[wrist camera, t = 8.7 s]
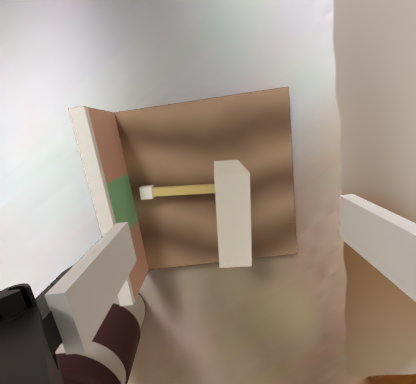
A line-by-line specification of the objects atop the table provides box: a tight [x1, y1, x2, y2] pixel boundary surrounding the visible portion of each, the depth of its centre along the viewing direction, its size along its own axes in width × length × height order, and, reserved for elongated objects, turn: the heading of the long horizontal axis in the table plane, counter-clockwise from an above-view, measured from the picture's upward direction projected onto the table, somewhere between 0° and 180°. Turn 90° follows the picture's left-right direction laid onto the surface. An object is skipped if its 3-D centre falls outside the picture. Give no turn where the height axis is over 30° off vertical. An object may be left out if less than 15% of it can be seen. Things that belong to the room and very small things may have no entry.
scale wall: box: [68, 106, 149, 306], centre depth 26 cm, size 20×1×7 cm, turn 8°
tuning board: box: [114, 87, 297, 270], centre depth 29 cm, size 20×21×1 cm
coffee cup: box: [56, 294, 145, 384], centre depth 27 cm, size 10×10×15 cm
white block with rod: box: [139, 160, 252, 268], centre depth 23 cm, size 11×7×12 cm, turn 94°
